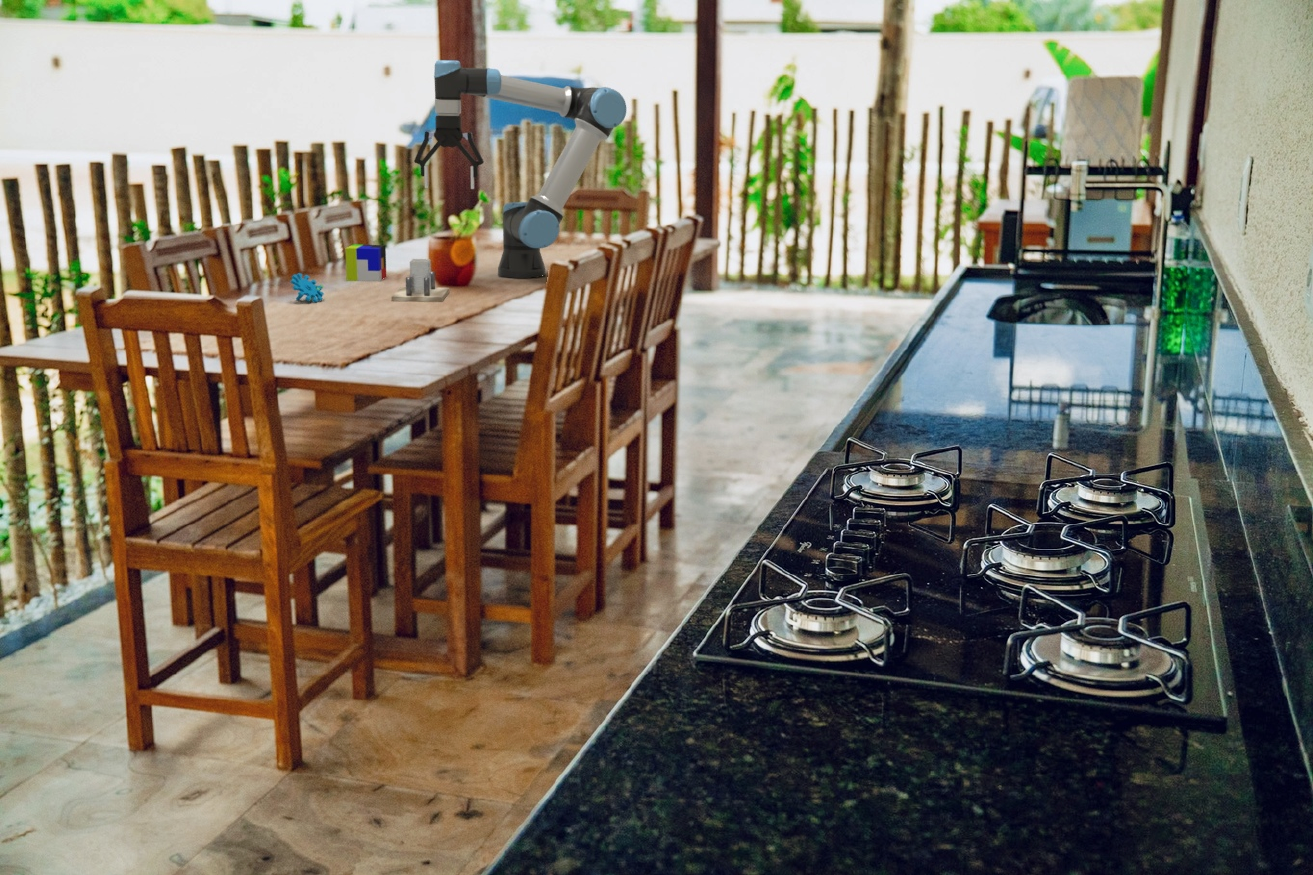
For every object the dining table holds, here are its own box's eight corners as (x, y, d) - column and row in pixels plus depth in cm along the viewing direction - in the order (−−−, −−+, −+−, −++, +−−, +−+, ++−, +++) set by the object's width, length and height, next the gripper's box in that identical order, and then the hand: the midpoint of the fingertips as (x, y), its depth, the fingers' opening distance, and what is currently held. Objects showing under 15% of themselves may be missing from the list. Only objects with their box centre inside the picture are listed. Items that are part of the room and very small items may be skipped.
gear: (304, 299, 358) (287, 270, 360) (292, 313, 361) (275, 284, 363) (333, 300, 367) (316, 272, 370) (322, 313, 370) (305, 285, 373)
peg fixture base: (449, 291, 386) (448, 270, 385) (442, 301, 369) (441, 279, 367) (401, 291, 386) (400, 270, 384) (391, 300, 368) (390, 278, 367)
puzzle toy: (379, 281, 403) (378, 249, 401) (346, 281, 403) (345, 248, 401) (386, 277, 413) (385, 245, 410) (354, 276, 413) (353, 244, 411)
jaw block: (431, 290, 380) (430, 259, 378) (428, 294, 374) (427, 262, 371) (413, 290, 380) (412, 258, 378) (410, 293, 373) (409, 262, 371)
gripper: (491, 115, 392) (492, 188, 397) (407, 113, 391) (409, 186, 396) (489, 116, 385) (490, 190, 390) (403, 114, 384) (405, 188, 389)
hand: (449, 188), depth 393 cm, fingers open, 13 cm apart
